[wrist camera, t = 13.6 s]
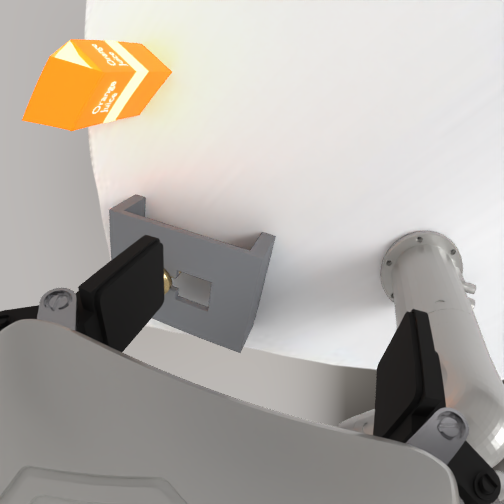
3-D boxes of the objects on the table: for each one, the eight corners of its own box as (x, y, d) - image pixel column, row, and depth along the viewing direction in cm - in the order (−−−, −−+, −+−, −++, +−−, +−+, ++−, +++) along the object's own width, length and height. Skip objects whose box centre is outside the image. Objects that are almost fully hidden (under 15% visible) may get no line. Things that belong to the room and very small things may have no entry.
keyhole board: (275, 236, 47) (262, 259, 41) (253, 325, 56) (240, 352, 50) (135, 194, 51) (109, 209, 45) (135, 281, 60) (115, 301, 54)
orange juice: (173, 72, 40) (67, 75, 23) (139, 116, 44) (36, 143, 28) (141, 42, 39) (34, 38, 22) (110, 86, 43) (8, 103, 26)
